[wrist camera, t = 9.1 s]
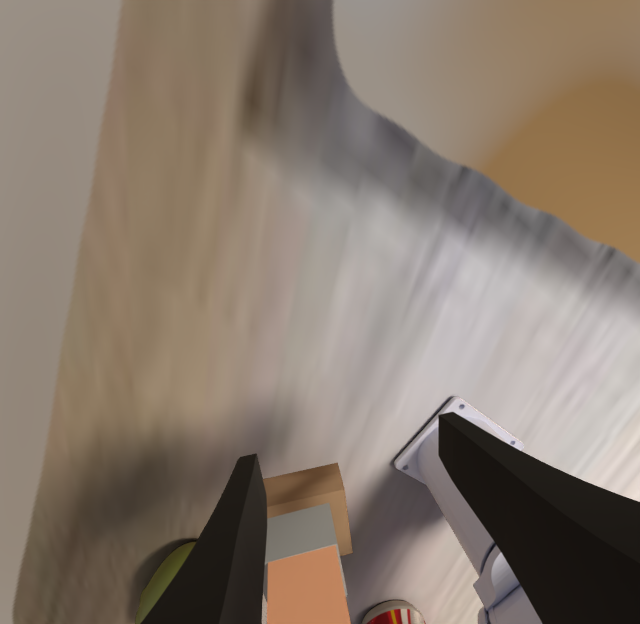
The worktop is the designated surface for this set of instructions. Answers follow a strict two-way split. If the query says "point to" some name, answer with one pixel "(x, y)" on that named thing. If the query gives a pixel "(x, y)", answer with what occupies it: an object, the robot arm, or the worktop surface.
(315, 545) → the slate block
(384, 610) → the soda can
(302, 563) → the terracotta cube
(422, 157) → the worktop surface
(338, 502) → the walnut base
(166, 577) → the pear
